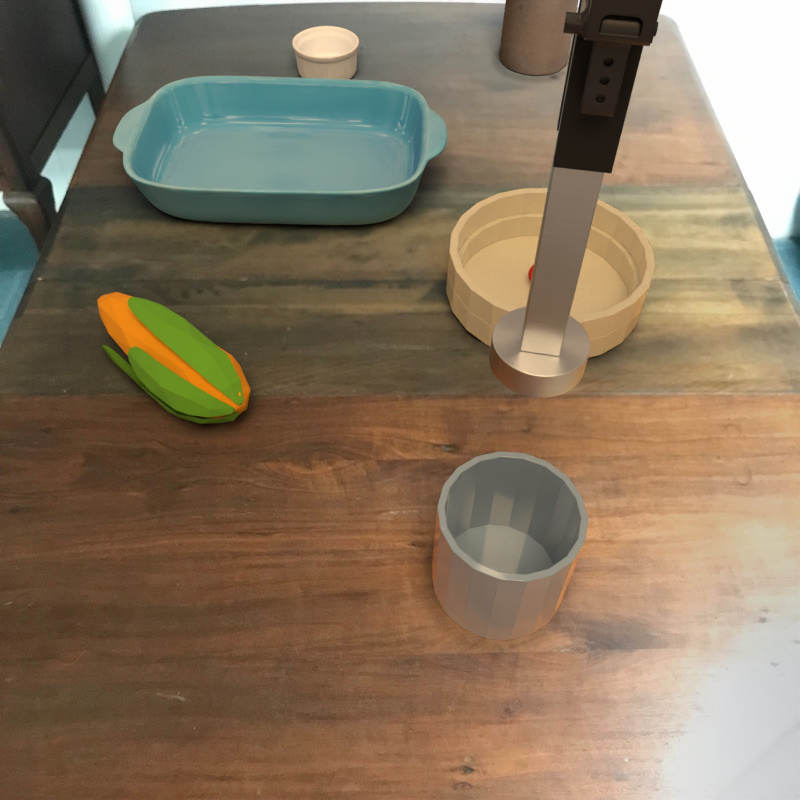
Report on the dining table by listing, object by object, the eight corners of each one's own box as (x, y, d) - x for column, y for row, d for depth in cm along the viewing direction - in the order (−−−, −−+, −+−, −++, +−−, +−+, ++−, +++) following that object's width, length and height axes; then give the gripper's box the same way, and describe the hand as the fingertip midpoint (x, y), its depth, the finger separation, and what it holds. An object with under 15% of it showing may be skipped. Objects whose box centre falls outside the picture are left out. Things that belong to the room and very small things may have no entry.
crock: (589, 594, 60) (619, 528, 52) (486, 669, 57) (501, 610, 49) (505, 501, 65) (521, 429, 58) (405, 564, 62) (408, 496, 54)
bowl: (680, 312, 80) (698, 267, 75) (531, 398, 72) (541, 354, 68) (550, 211, 90) (559, 166, 85) (408, 278, 82) (409, 232, 78)
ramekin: (286, 63, 110) (282, 32, 106) (345, 50, 112) (343, 20, 109) (308, 94, 105) (306, 63, 101) (370, 80, 107) (369, 49, 104)
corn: (196, 402, 62) (50, 284, 70) (208, 462, 67) (72, 346, 76) (267, 355, 66) (121, 248, 74) (273, 414, 71) (136, 309, 79)
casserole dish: (104, 236, 86) (85, 180, 80) (153, 122, 100) (140, 68, 95) (443, 249, 85) (446, 193, 80) (444, 132, 99) (448, 79, 94)
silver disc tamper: (604, 371, 50) (731, -35, 31) (531, 413, 47) (621, 3, 29) (541, 315, 53) (622, -84, 34) (469, 352, 50) (515, -53, 32)
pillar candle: (488, 47, 113) (500, -67, 102) (551, 37, 115) (569, -76, 104) (514, 81, 107) (530, -36, 96) (580, 70, 109) (602, -45, 98)
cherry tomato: (559, 269, 79) (551, 291, 80) (547, 260, 81) (540, 281, 82) (540, 266, 78) (532, 288, 79) (528, 257, 80) (520, 279, 81)
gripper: (612, -655, 25) (519, 60, 43) (602, -714, 15) (488, 239, 34) (859, -654, 24) (659, 74, 42) (1011, -717, 15) (667, 261, 33)
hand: (583, 146), depth 38 cm, fingers closed on silver disc tamper, 2 cm apart
